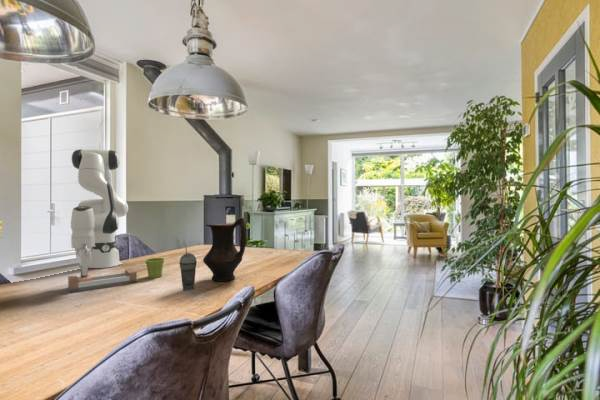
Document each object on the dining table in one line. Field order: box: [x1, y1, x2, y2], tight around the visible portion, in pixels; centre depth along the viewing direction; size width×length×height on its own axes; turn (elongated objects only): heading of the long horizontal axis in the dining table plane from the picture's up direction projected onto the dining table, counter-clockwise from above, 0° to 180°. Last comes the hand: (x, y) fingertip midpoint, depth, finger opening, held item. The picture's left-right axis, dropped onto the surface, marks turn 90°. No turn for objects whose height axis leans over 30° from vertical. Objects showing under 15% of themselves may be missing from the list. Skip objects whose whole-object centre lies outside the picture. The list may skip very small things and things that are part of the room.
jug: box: [202, 216, 247, 282], centre depth 165 cm, size 21×18×30 cm
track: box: [67, 268, 138, 293], centre depth 157 cm, size 10×26×5 cm, turn 127°
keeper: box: [77, 263, 93, 283], centre depth 152 cm, size 7×5×9 cm
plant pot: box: [144, 257, 166, 279], centre depth 172 cm, size 9×9×9 cm
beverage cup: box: [178, 242, 198, 292], centre depth 148 cm, size 7×7×20 cm
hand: (83, 274), depth 152 cm, fingers closed on keeper, 3 cm apart
